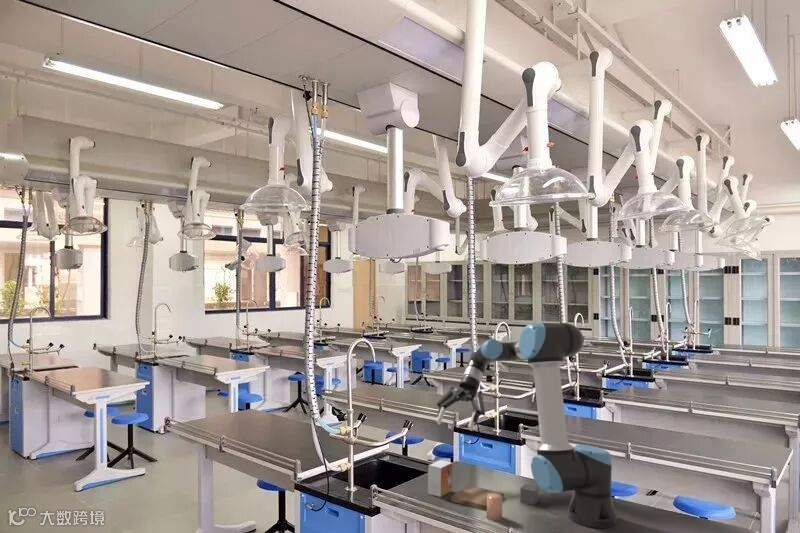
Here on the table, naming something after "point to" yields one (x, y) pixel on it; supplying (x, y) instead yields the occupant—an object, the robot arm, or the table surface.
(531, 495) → the charcoal block
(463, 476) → the table surface
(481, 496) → the walnut board
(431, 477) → the small box
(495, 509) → the pinkish-brown upright cylinder
